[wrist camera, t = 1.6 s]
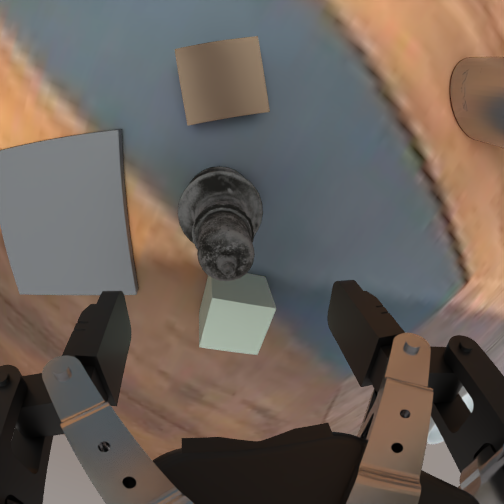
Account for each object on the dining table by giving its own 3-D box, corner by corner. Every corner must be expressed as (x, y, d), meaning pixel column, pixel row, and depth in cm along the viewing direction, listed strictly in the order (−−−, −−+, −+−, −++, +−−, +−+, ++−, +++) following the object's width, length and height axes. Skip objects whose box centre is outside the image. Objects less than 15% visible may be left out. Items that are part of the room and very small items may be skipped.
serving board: (121, 129, 21) (118, 130, 20) (138, 288, 27) (136, 294, 26) (-5, 151, 19) (-11, 153, 18) (23, 289, 25) (19, 294, 24)
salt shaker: (218, 247, 26) (227, 343, 16) (166, 199, 24) (136, 274, 13) (270, 199, 25) (318, 270, 15) (220, 147, 23) (231, 179, 12)
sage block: (265, 276, 28) (276, 308, 24) (249, 319, 30) (257, 354, 26) (210, 265, 27) (212, 297, 23) (199, 311, 29) (199, 347, 25)
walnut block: (247, 50, 20) (257, 36, 15) (257, 111, 22) (269, 111, 18) (181, 61, 20) (174, 49, 15) (191, 122, 22) (187, 125, 17)
